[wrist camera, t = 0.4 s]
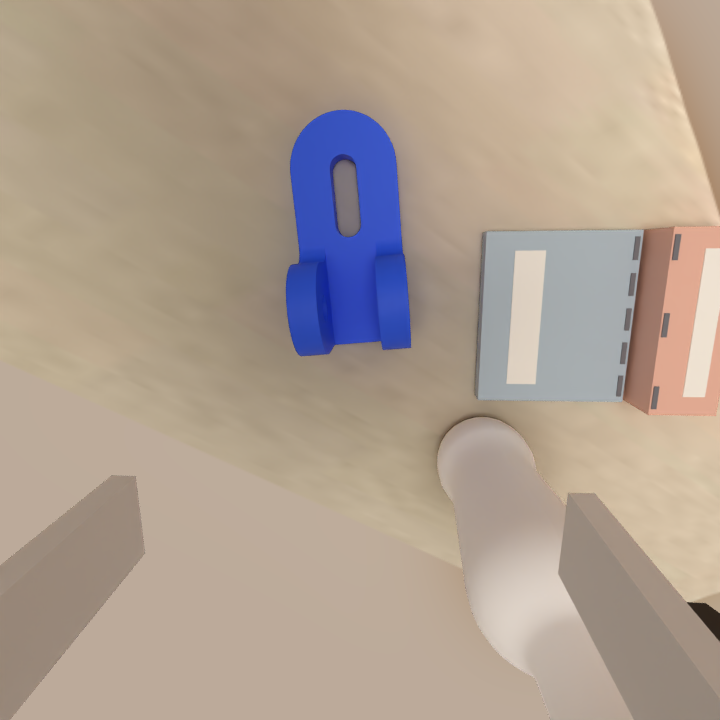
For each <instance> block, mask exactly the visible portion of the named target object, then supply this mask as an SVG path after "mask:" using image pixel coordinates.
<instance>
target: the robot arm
mask: <svg viewBox="0 0 720 720" xmlns="http://www.w3.org/2000/svg"><path fill="white" fill-rule="evenodd" d="M144 554H145V549H144V541H143V533H142V524H141V516H140V508H139V500H138V491H137V483H136V476H117V475H112V476H110V477H109V478H108V479H107V480H106V481H105V482H103V483H102V484H101V485H99V486H98V487H97V488H96V489H94V490H93V491H92V492H91V493H89V494H88V495H87V496H86V497H84V499H82V500H81V501H79V502H78V503H77V504H76V505H75V506H73V507H72V508H71V509H70V510H68V511H67V512H66V513H65V514H63V515H62V516H61V517H60V518H58V519H57V520H56V521H55V522H54V523H52V524H51V525H50V526H48V527H47V528H46V529H45V530H44V531H42V532H41V533H40V534H39V535H38V536H36V537H35V538H34V539H32V540H31V541H30V542H29V543H27V544H26V545H25V546H24V547H22V548H21V549H20V550H19V551H17V552H16V553H15V554H14V555H13V556H11V557H10V558H9V559H8V560H6V561H5V562H4V563H3V564H1V565H0V720H10V719H11V718H12V717H13V715H14V714H15V713H16V712H17V711H18V709H19V708H20V707H21V706H22V704H23V703H24V702H25V701H26V700H27V698H28V697H29V696H30V695H31V693H32V692H33V691H34V690H35V688H36V687H37V686H38V685H39V683H40V682H41V681H42V680H43V679H44V677H45V676H46V675H47V673H48V672H49V671H50V670H51V669H52V667H53V666H54V665H55V664H56V663H57V661H58V660H59V659H60V658H61V656H62V655H63V654H64V653H65V651H66V650H67V649H68V648H69V646H70V645H71V644H72V643H73V642H74V640H75V639H76V638H77V637H78V635H79V634H80V633H81V631H82V630H83V629H84V628H85V627H86V626H87V624H88V623H89V622H90V621H91V619H92V618H93V617H94V616H95V614H96V613H97V612H98V611H99V610H100V608H101V607H102V606H103V605H104V603H105V602H106V601H107V600H108V598H109V597H110V596H111V595H112V593H113V592H114V591H115V590H116V589H117V587H118V586H119V584H121V582H122V581H123V580H124V579H125V577H126V576H127V575H128V574H129V572H130V571H131V570H132V569H133V567H134V566H135V565H136V564H137V563H138V561H139V560H140V559H141V558H142V556H143V555H144ZM558 575H559V577H560V578H561V580H562V582H563V584H564V586H565V588H566V590H567V592H568V594H569V596H570V598H571V600H572V602H573V604H574V605H575V607H576V609H577V611H578V613H579V615H580V617H581V619H582V621H583V623H584V625H585V627H586V629H587V631H588V632H589V634H590V636H591V638H592V640H593V642H594V644H595V646H596V648H597V650H598V652H599V654H600V656H601V658H602V659H603V661H604V663H605V665H606V667H607V669H608V671H609V673H610V675H611V677H612V679H613V681H614V683H615V685H616V686H617V688H618V690H619V692H620V694H621V696H622V698H623V700H624V702H625V704H626V706H627V708H628V710H629V712H630V713H631V715H632V717H633V719H634V720H720V613H718V612H717V611H716V610H714V609H713V608H712V607H710V606H709V605H707V604H706V603H690V602H686V601H685V600H684V599H683V598H682V596H681V595H680V594H679V593H678V592H677V590H676V589H675V588H674V587H673V586H672V585H671V583H670V582H669V581H668V580H667V579H666V577H665V576H664V575H663V574H662V573H661V571H660V570H659V569H658V568H657V567H656V566H655V564H654V563H653V562H652V561H651V560H650V558H649V557H648V556H647V555H646V554H645V552H644V551H643V550H642V549H641V548H640V547H639V545H638V544H637V543H636V542H635V541H634V539H633V538H632V537H631V536H630V535H629V533H628V532H627V531H626V530H625V529H624V527H623V526H622V525H621V524H620V523H619V522H618V520H617V519H616V518H615V517H614V516H613V514H612V513H611V512H610V511H609V510H608V508H607V507H606V506H605V505H604V504H603V503H602V501H601V500H600V499H599V498H598V497H597V495H596V494H590V493H568V498H567V506H566V514H565V522H564V529H563V537H562V545H561V553H560V561H559V569H558Z"/></svg>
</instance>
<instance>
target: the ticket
mask: <svg viewBox="0 0 720 720" xmlns="http://www.w3.org/2000/svg"><path fill="white" fill-rule="evenodd" d="M643 233H644V230H571V231H487V232H483V242H482V262H481V282H480V302H479V321H478V341H477V361H476V381H475V396H476V398H477V399H478V400H510V401H589V402H622V400H623V392H624V384H625V376H626V368H627V360H628V352H629V344H630V336H631V328H632V320H633V312H634V304H635V297H636V289H637V281H638V273H639V265H640V257H641V249H642V241H643Z"/></svg>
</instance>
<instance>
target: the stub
mask: <svg viewBox="0 0 720 720" xmlns="http://www.w3.org/2000/svg"><path fill="white" fill-rule="evenodd" d="M719 395H720V226H705V227H669V228H659V229H650V230H644V233H643V241H642V249H641V257H640V265H639V273H638V281H637V289H636V297H635V304H634V312H633V320H632V328H631V336H630V344H629V352H628V360H627V368H626V376H625V384H624V392H623V400H625V401H626V402H628V403H630V404H631V405H633V406H635V407H636V408H638V409H639V410H641V411H643V412H644V413H646V414H648V415H693V416H716V412H717V407H718V401H719Z"/></svg>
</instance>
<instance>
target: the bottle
mask: <svg viewBox="0 0 720 720" xmlns="http://www.w3.org/2000/svg"><path fill="white" fill-rule="evenodd" d="M437 469H438V474H439V478H440V481H441V485H442V488H443V489H444V491H445V492H446V494H447V496H448V497H449V498H450V500H451V501H452V502H453V504H454V511H455V518H456V525H457V532H458V539H459V546H460V553H461V560H462V567H463V574H464V581H465V588H466V592H467V597H468V601H469V604H470V607H471V610H472V614H473V616H474V618H475V620H476V622H477V624H478V627H479V628H480V630H481V631H482V633H483V634H484V636H485V637H486V639H487V640H488V642H489V643H490V644H491V645H492V646H493V648H494V649H495V650H496V651H497V653H498V654H500V655H501V656H502V657H503V658H504V659H505V660H507V661H508V662H509V663H510V664H512V665H514V666H515V667H517V668H518V669H520V670H521V671H523V672H525V673H526V674H528V675H531V676H532V677H534V678H535V680H536V683H537V686H538V688H539V691H540V694H541V696H542V699H543V702H544V704H545V707H546V710H547V712H548V715H549V718H550V720H634V719H633V717H632V715H631V713H630V712H629V710H628V708H627V706H626V704H625V702H624V700H623V698H622V696H621V694H620V692H619V690H618V688H617V686H616V685H615V683H614V681H613V679H612V677H611V675H610V673H609V671H608V669H607V667H606V665H605V663H604V661H603V659H602V658H601V656H600V654H599V652H598V650H597V648H596V646H595V644H594V642H593V640H592V638H591V636H590V634H589V632H588V631H587V629H586V627H585V625H584V623H583V621H582V619H581V617H580V615H579V613H578V611H577V609H576V607H575V605H574V604H573V602H572V600H571V598H570V596H569V594H568V592H567V590H566V588H565V586H564V584H563V582H562V580H561V578H560V577H559V575H558V569H559V561H560V553H561V545H562V537H563V529H564V522H565V514H566V505H565V504H564V503H563V502H562V500H561V499H560V498H559V497H558V496H557V495H556V493H555V492H554V491H553V490H552V489H551V488H550V486H549V485H548V484H547V483H546V482H545V480H544V479H543V478H542V477H541V476H540V475H539V473H538V472H537V471H536V464H535V460H534V456H533V453H532V451H531V449H530V448H529V446H528V445H527V443H526V442H525V440H524V439H523V437H522V436H521V435H520V434H519V433H518V432H517V431H516V430H515V429H514V428H513V427H511V426H509V425H507V424H506V423H504V422H502V421H500V420H498V419H493V418H489V417H475V418H471V419H467V420H464V421H462V422H460V423H459V424H457V425H455V426H454V427H453V428H452V429H451V430H450V431H448V432H447V433H446V435H445V437H444V438H443V440H442V442H441V444H440V448H439V451H438V456H437Z"/></svg>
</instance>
